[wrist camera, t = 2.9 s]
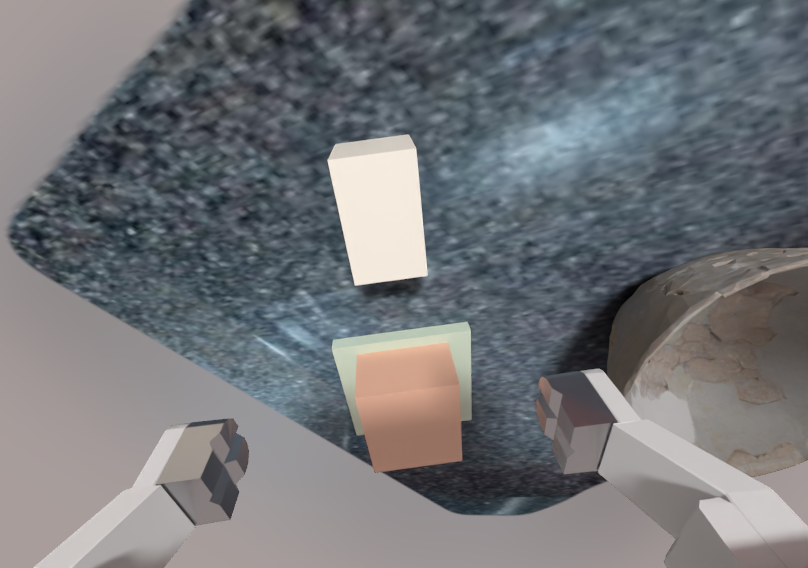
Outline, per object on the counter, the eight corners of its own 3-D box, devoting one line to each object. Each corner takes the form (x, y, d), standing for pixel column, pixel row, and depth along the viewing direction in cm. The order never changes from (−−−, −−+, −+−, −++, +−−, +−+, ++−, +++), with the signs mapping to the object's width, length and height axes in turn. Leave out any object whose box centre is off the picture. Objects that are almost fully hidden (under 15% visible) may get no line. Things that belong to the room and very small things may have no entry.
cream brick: (335, 143, 23) (327, 160, 19) (408, 134, 23) (416, 148, 19) (357, 252, 27) (355, 285, 23) (419, 244, 27) (427, 275, 23)
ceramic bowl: (690, 135, 24) (861, 171, 16) (855, 263, 31) (1035, 336, 23) (501, 355, 34) (544, 451, 25) (660, 416, 41) (735, 507, 32)
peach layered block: (333, 339, 31) (325, 392, 26) (467, 321, 31) (485, 371, 26) (357, 425, 38) (354, 481, 32) (468, 410, 38) (483, 464, 33)
